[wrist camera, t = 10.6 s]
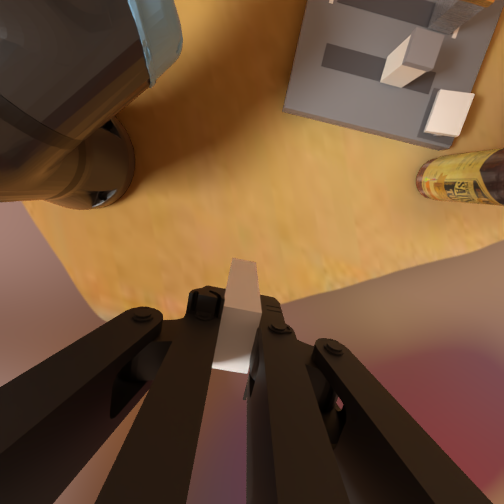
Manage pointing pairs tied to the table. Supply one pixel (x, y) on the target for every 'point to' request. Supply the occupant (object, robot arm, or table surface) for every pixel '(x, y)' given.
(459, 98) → the block
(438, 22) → the block
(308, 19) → the panel
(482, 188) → the sauce bottle
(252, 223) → the table surface
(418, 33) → the slider cream
